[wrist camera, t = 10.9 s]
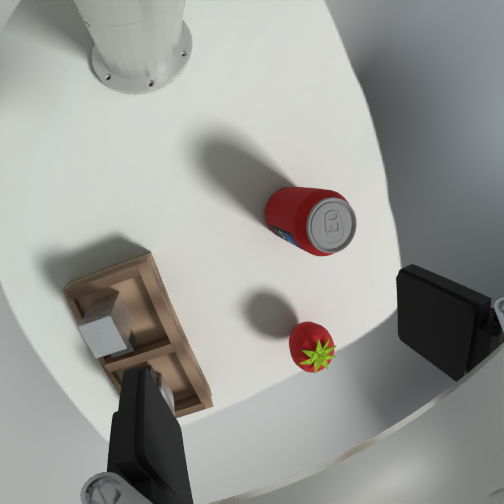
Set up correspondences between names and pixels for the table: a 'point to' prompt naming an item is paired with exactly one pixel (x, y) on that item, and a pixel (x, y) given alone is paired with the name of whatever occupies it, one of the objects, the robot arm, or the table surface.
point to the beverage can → (311, 219)
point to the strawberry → (311, 346)
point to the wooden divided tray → (146, 332)
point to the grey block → (108, 327)
